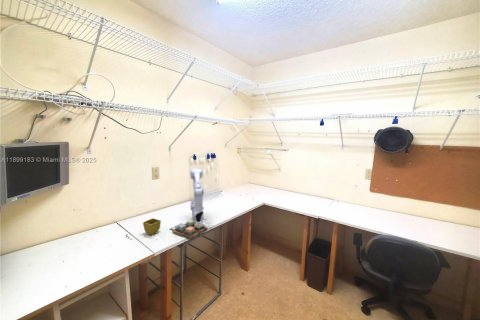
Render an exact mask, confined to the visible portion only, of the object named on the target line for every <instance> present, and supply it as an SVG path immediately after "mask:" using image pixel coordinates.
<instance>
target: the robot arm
mask: <svg viewBox="0 0 480 320" xmlns="http://www.w3.org/2000/svg"><path fill="white" fill-rule="evenodd" d="M189 174H190V179H191V180H192V182H193V199H191V201H190V205H189V207H190V211H191V219H190V220H194V221H195V223H197V222H200V223H201V221H203V220H205V218H204V210H205V209H204V208H205V207H204V206H203V199H204V198H203V197H204V188H203V185H202V182H201V179H202V177H203V168H190V170H189Z"/></svg>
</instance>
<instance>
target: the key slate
mask: <svg viewBox="0 0 480 320" xmlns="http://www.w3.org/2000/svg"><path fill="white" fill-rule="evenodd" d="M179 224H180V225H179ZM179 224H177V225H178V229H180V230H183V229H185V228H186V225H184V224H185V223H182V224H181V223H179Z"/></svg>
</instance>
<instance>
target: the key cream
mask: <svg viewBox="0 0 480 320" xmlns="http://www.w3.org/2000/svg"><path fill="white" fill-rule="evenodd" d="M203 225H204V224H203V222H201V221H200V222H197V223H195V224H194V227H197V228H200V227H202V226H203Z"/></svg>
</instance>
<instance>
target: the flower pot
mask: <svg viewBox="0 0 480 320" xmlns="http://www.w3.org/2000/svg"><path fill="white" fill-rule="evenodd" d="M161 223H162V221H161V219H157V218H150V219H148V220H146V221H143V222H142V225H143V229H144V231H145V233H146V234H147V235H150V236H154V235H155V234H157V233H158V232H159V231H160V230H161V229H160V228H161Z"/></svg>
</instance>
